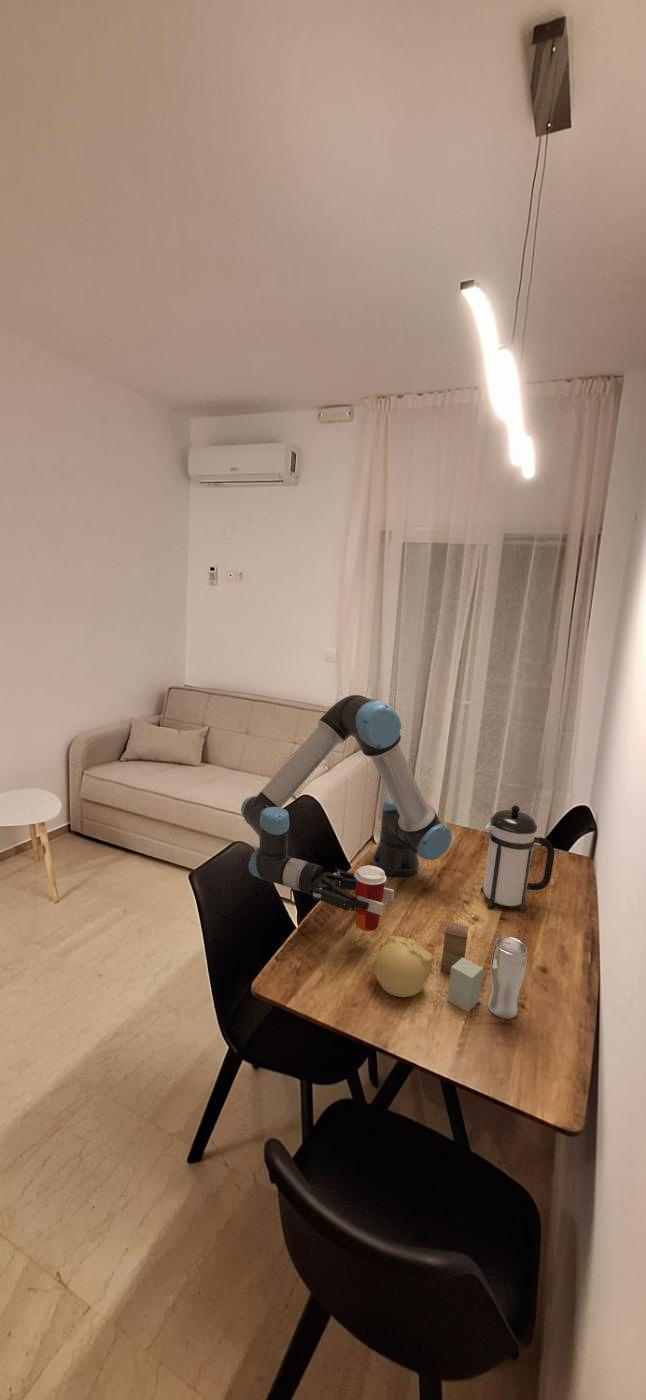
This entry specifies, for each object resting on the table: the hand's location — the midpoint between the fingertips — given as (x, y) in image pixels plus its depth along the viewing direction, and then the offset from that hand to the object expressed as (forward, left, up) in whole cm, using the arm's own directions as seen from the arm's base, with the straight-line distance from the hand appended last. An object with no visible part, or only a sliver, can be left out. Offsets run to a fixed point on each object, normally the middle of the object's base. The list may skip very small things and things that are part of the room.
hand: (387, 902), depth 135 cm
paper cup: (0, -5, -8) cm, 9 cm away
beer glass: (+4, +29, -14) cm, 32 cm away
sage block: (+6, +21, -14) cm, 26 cm away
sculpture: (+9, +8, -14) cm, 18 cm away
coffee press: (-45, +22, -14) cm, 52 cm away
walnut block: (-4, +16, -14) cm, 22 cm away
